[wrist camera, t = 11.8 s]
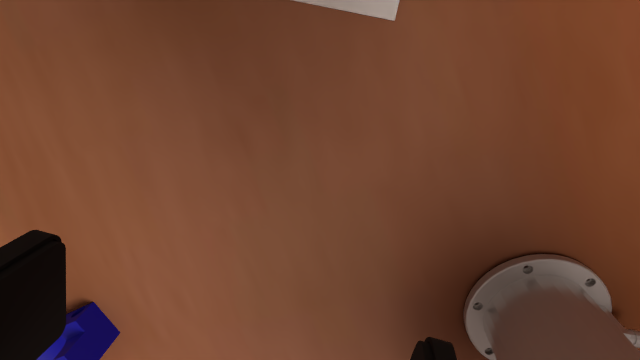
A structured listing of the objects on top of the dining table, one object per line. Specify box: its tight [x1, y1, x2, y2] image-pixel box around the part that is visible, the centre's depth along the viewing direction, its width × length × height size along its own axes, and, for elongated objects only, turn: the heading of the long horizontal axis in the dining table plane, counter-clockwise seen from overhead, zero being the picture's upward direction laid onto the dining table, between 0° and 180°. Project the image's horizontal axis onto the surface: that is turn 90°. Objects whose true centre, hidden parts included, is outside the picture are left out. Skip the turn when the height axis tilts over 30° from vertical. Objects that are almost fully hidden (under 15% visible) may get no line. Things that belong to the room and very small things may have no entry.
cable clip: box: [37, 302, 120, 360], centre depth 40 cm, size 12×4×6 cm, turn 118°
